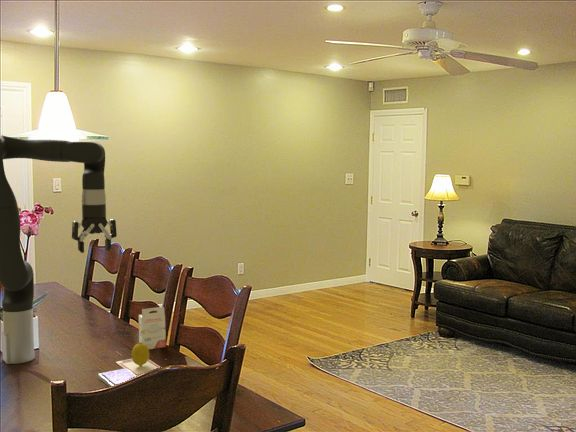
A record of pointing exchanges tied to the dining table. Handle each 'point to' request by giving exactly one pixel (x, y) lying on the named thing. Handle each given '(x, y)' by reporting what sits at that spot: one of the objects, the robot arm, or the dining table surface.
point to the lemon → (140, 354)
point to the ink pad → (116, 376)
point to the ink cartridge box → (152, 328)
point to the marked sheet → (137, 366)
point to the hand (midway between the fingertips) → (94, 251)
